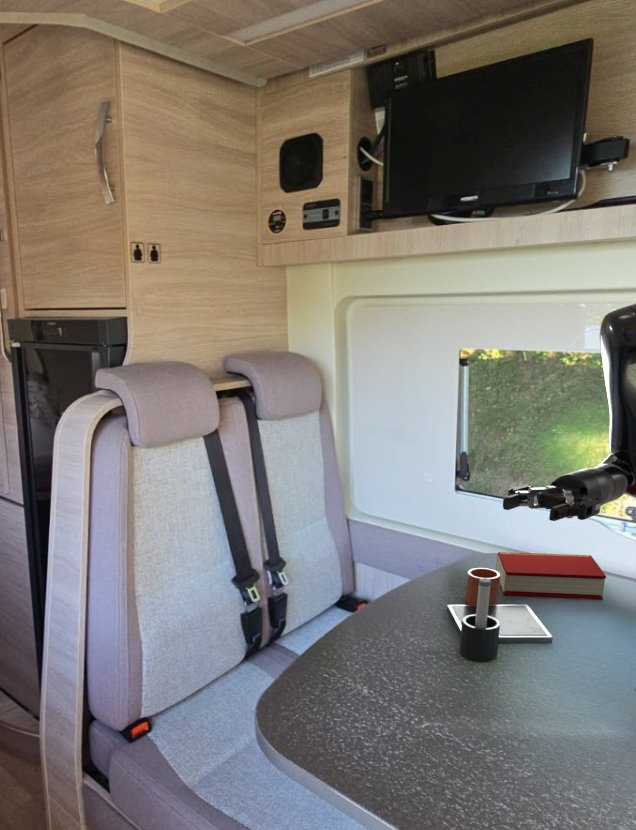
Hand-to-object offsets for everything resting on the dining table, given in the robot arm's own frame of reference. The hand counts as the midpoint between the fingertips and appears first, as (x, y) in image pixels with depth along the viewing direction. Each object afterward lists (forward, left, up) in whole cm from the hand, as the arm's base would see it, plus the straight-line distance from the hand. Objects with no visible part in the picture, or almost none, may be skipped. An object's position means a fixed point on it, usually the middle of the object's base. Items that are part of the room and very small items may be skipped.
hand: (527, 509), depth 120 cm
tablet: (+2, -5, -24) cm, 24 cm away
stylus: (+8, +6, -23) cm, 25 cm away
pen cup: (+2, -16, -24) cm, 28 cm away
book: (-13, -24, -24) cm, 36 cm away
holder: (+8, +6, -24) cm, 26 cm away
